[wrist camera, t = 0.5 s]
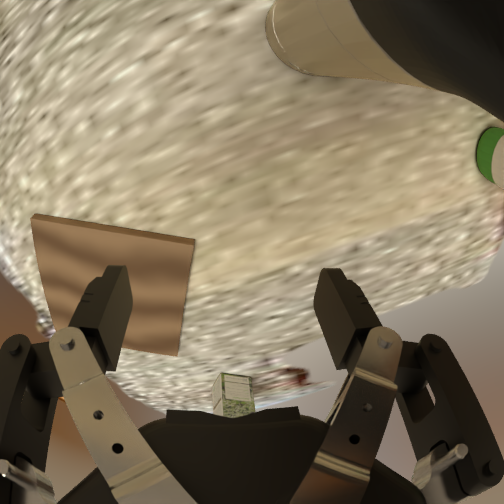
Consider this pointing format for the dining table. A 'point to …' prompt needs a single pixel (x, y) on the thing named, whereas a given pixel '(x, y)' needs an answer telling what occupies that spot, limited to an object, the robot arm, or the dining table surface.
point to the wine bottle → (492, 155)
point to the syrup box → (233, 396)
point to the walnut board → (116, 253)
